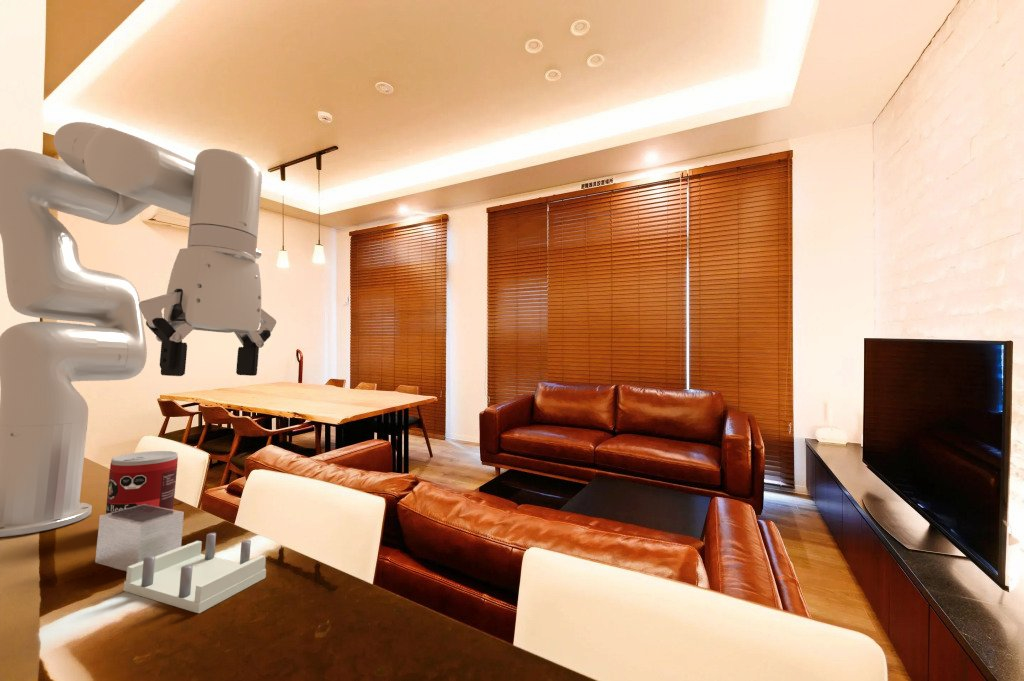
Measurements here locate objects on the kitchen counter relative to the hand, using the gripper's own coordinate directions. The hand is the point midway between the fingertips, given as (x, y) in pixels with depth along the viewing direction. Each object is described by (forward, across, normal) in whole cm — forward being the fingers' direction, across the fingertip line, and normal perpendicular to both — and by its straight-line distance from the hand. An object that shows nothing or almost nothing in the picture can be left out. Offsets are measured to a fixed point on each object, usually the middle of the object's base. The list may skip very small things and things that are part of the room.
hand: (212, 375), depth 54 cm
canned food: (+25, -6, -21) cm, 33 cm away
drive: (+25, +1, -9) cm, 26 cm away
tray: (+24, +3, +4) cm, 25 cm away
